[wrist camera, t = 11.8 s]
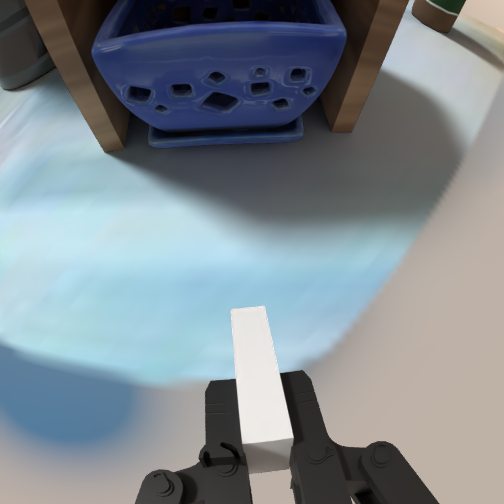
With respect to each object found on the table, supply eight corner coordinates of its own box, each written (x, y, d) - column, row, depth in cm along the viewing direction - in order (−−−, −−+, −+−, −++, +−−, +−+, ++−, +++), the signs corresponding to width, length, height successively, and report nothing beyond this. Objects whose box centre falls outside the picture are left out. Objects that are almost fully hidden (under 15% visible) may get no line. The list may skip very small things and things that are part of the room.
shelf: (351, 132, 24) (426, -44, 8) (104, 152, 23) (15, -21, 6) (313, 40, 28) (340, -88, 12) (127, 54, 27) (93, -74, 10)
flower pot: (158, 67, 26) (136, -32, 15) (290, 60, 27) (306, -40, 15) (139, 174, 22) (80, 53, 11) (313, 165, 23) (360, 38, 11)
